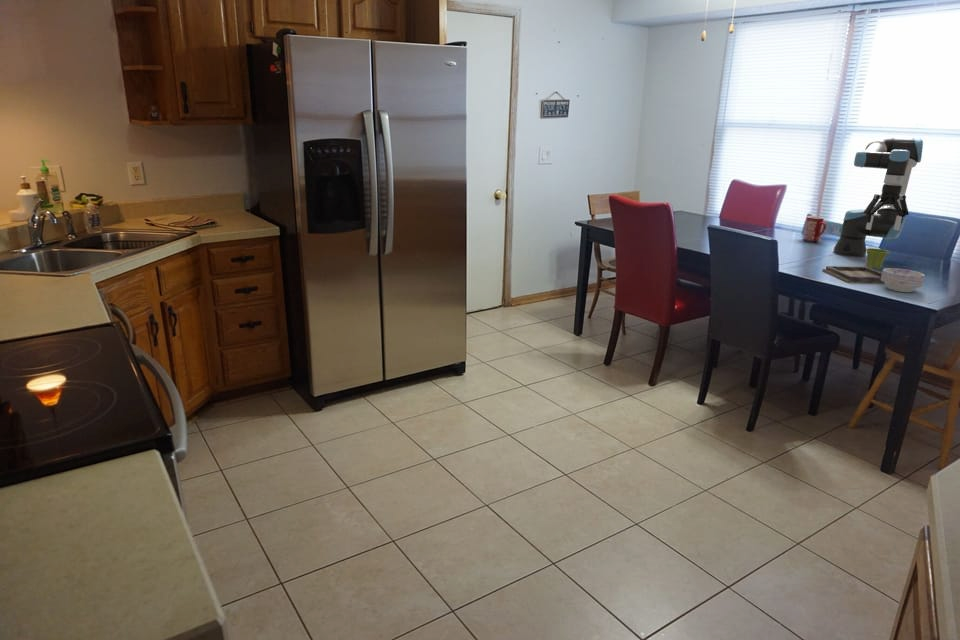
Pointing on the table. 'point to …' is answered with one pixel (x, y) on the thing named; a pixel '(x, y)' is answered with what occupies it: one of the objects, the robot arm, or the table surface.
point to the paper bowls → (902, 279)
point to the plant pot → (875, 258)
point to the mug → (814, 228)
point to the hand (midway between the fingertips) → (882, 229)
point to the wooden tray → (854, 274)
